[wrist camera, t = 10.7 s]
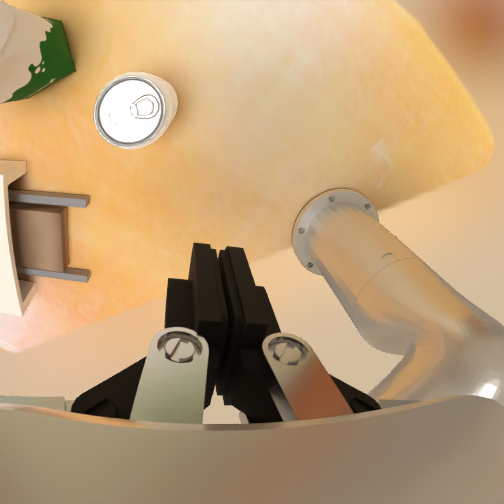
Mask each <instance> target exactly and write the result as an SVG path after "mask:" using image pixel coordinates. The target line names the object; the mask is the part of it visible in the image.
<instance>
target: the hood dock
mask: <svg viewBox="0 0 504 504" xmlns="http://www.w3.org/2000/svg"><path fill="white" fill-rule="evenodd" d="M25 173H26V161H15V160H0V312H1V313H6V314H11V315H16V316H21V317H23V315H24V313H25V311H26V309H27V307H28V305H29V304H30V302H31V300H32V298H33V296H34V295H35V293H36V291H37V290H36V284H35V282H29V281H23V280H18V277H17V273H23V274H29V275H36V276H43V277H50V278H57V279H64V280H71V281H79V282H88V280H89V278H90V270H85V269H77V268H69V267H67V268H66V269H65V271H64V273H63V272H56V271H49V270H42V269H35V268H28V267H22V266H16V265H15V258H14V251H13V244H12V236H11V226H10V215H9V201H15V202H27V203H39V204H50V205H61V206H71V207H82V208H86V207H87V205H88V204H89V196H88V195H77V194H66V193H54V192H41V191H28V190H14V189H8V185H9V184H10V183H12V182H13V181H15V180H16V179H18V178H19V177H21V176H22V175H24V174H25Z"/></svg>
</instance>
